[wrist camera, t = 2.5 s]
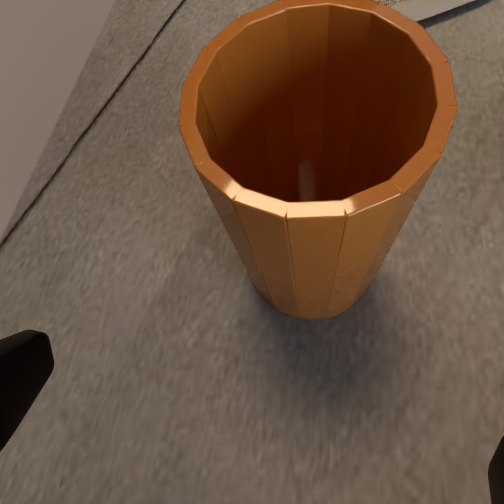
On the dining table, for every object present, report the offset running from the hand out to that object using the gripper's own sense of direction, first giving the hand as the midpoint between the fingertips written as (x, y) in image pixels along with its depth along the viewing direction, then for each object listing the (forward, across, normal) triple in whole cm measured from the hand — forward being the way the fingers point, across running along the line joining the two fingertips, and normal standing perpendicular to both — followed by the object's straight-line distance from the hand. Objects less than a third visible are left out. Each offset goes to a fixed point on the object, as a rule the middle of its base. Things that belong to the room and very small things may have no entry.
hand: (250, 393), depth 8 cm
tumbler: (+14, 0, +4) cm, 15 cm away
